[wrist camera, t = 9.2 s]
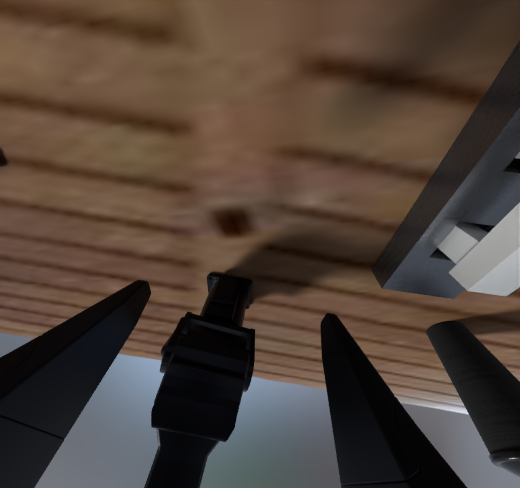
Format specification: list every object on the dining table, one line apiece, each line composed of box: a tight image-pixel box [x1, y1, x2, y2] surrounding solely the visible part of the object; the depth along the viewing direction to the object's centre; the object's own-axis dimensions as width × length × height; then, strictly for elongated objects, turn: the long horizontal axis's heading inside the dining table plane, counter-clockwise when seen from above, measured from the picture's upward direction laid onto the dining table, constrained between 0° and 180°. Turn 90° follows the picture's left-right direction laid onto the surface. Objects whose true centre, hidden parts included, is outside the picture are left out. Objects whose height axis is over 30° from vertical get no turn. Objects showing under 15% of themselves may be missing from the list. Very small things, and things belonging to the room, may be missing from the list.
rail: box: [372, 42, 520, 299], centre depth 15 cm, size 22×8×3 cm, turn 174°
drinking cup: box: [427, 322, 520, 477], centre depth 20 cm, size 8×8×20 cm
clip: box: [437, 152, 520, 296], centre depth 13 cm, size 12×3×7 cm, turn 174°
